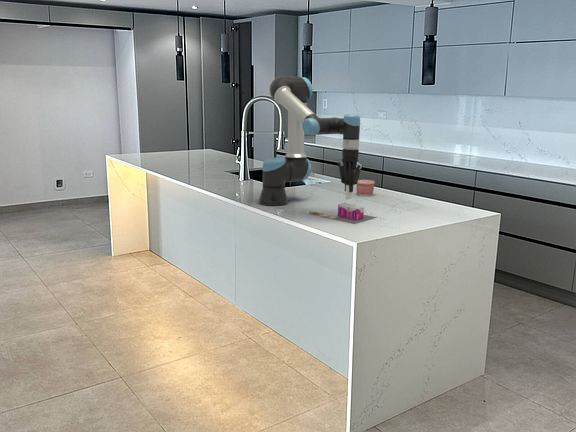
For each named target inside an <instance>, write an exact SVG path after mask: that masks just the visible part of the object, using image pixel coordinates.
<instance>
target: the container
mask: <svg viewBox="0 0 576 432" xmlns="http://www.w3.org/2000/svg"><path fill="white" fill-rule="evenodd" d="M375 183H376V181H374V180H371V179H358V182H357V184H355V185H356V190H355V191H356V193H357V195H358V196H360V197H371V196H372V194H374V189H375Z"/></svg>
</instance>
